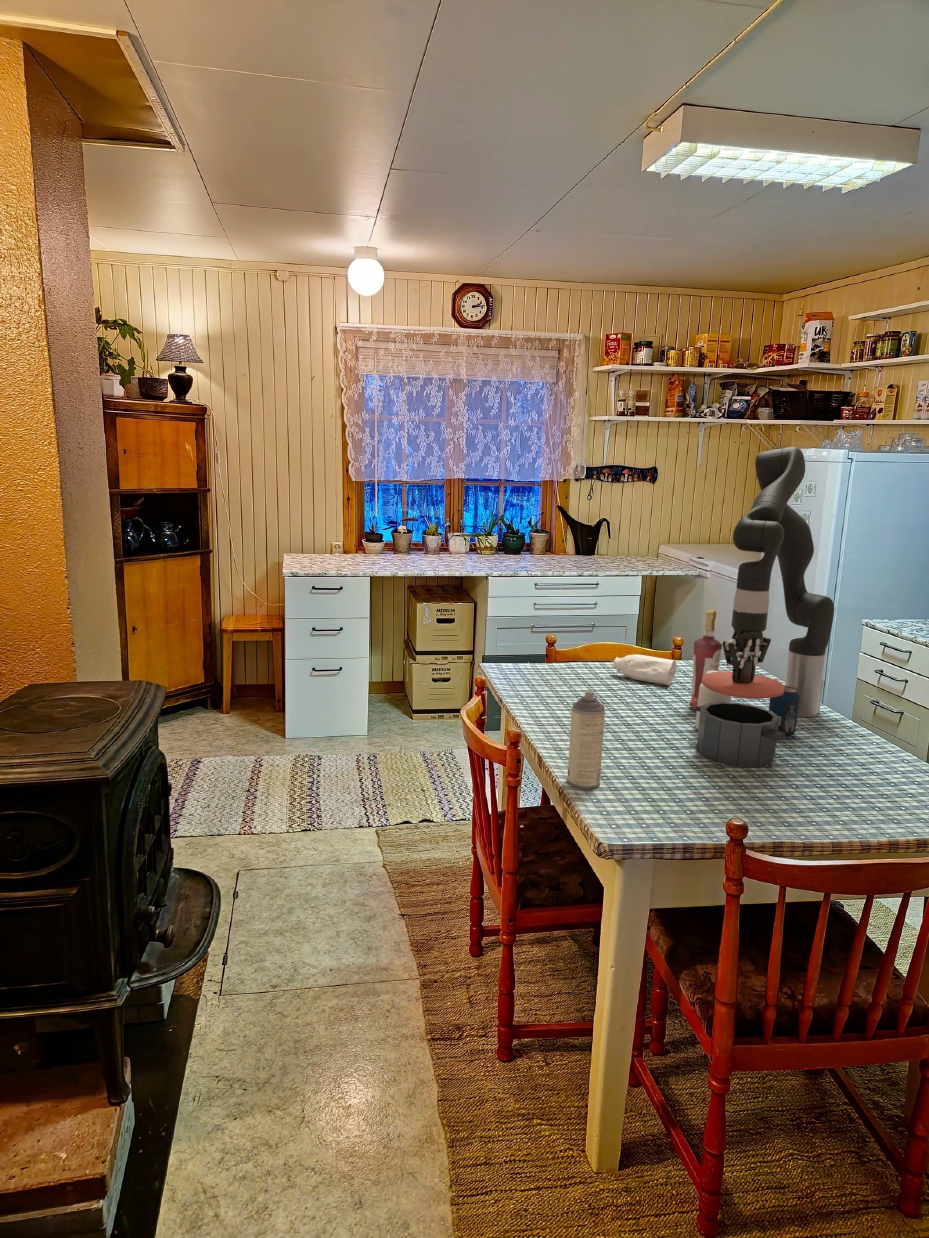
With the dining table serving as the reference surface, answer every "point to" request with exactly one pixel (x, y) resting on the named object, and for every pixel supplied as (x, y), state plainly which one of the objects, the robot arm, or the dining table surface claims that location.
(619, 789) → the dining table surface
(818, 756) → the dining table surface
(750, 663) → the lid
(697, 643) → the liquor
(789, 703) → the soda can
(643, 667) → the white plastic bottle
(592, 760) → the aerosol can
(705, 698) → the pill bottle
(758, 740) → the pot
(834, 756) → the dining table surface
